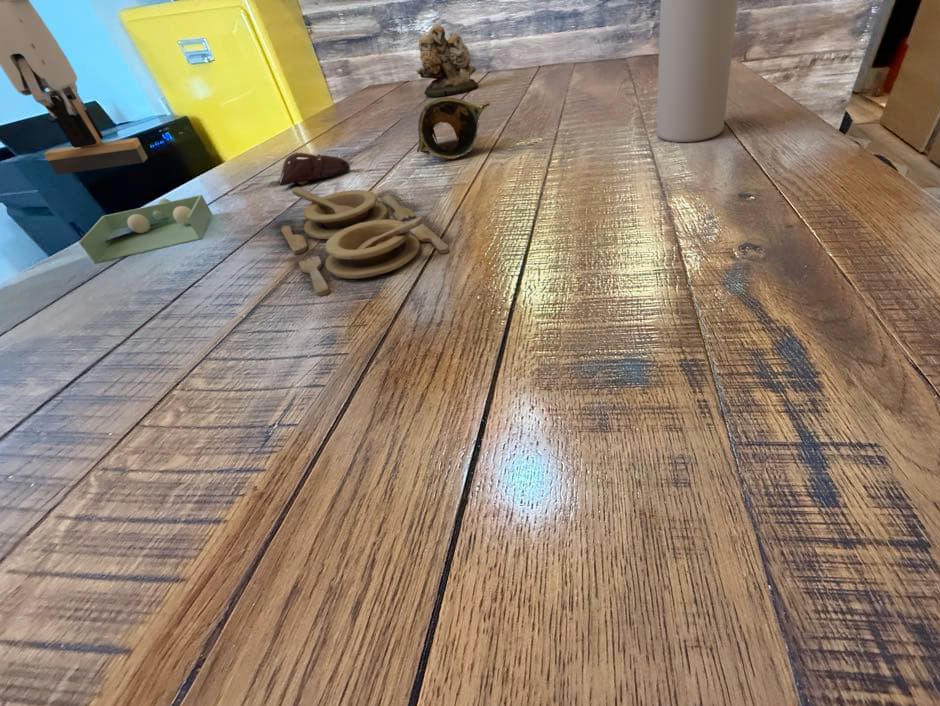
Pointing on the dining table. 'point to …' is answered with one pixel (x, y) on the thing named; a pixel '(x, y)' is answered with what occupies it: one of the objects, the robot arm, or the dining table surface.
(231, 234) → the dining table surface
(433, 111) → the pot
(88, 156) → the brush
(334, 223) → the tableware set
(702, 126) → the cylinder vase
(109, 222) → the dustpan
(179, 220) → the ball
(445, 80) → the owl figurine
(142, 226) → the ball
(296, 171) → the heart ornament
